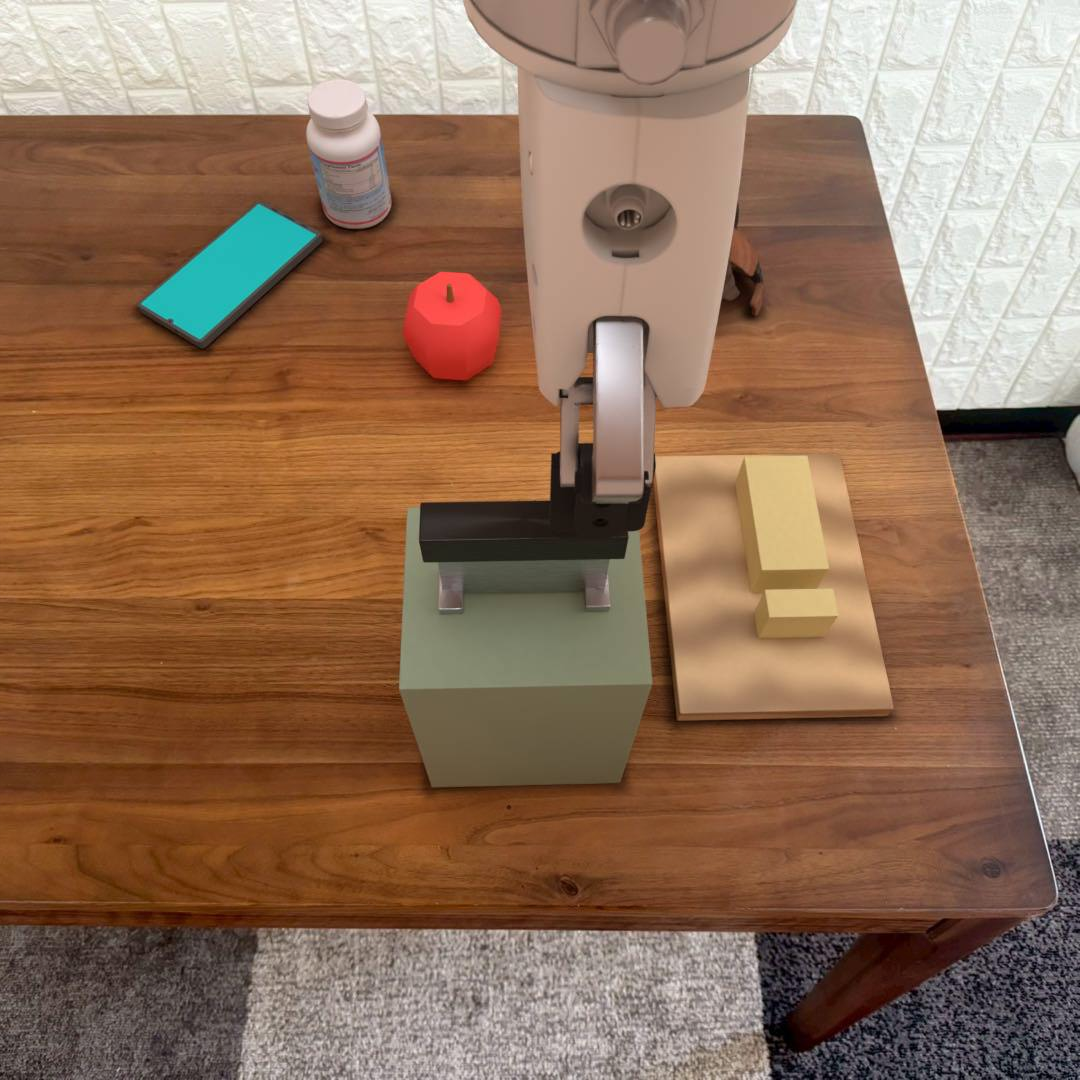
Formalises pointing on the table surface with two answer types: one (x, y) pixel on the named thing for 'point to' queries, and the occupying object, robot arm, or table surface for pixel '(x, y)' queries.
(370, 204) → the pill bottle
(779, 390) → the table surface
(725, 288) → the broken pottery vessel
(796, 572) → the butter stick
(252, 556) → the table surface
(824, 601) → the butter slice
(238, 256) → the smartphone
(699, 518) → the board
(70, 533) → the table surface
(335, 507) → the table surface
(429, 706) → the stand
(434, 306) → the apple
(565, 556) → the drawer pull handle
